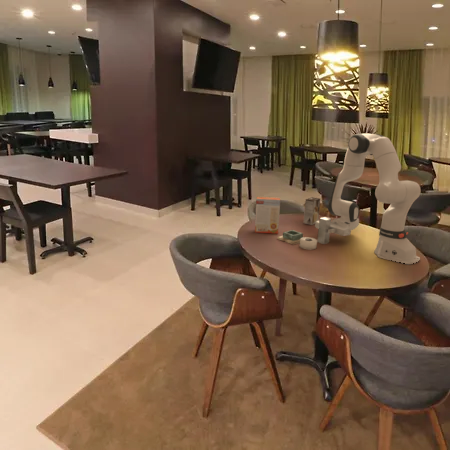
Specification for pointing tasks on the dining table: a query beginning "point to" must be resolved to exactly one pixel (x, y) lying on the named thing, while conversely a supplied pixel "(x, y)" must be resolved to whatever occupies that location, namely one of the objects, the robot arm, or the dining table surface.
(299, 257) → the dining table surface
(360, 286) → the dining table surface
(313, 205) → the coffee box
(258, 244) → the dining table surface
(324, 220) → the square bit
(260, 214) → the cracker box
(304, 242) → the round bore block
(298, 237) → the square socket board
